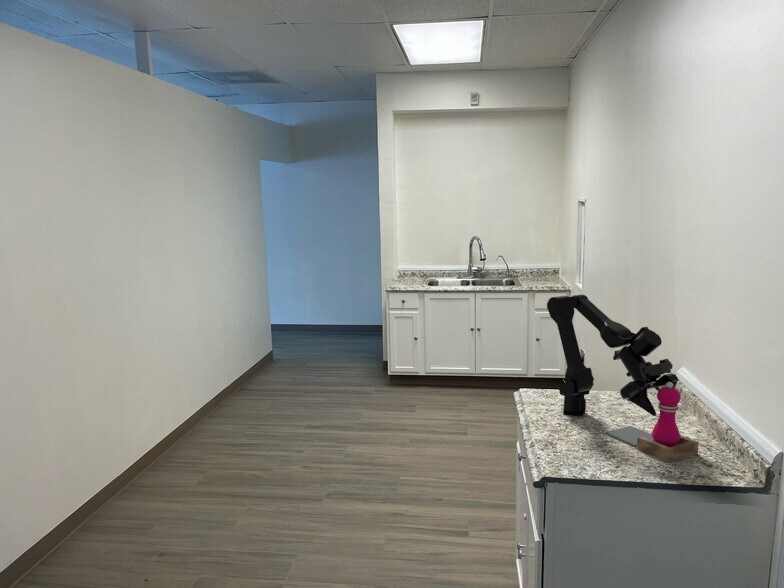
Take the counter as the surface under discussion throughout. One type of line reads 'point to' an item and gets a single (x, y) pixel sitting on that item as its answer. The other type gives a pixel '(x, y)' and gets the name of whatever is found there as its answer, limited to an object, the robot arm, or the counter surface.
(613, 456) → the counter surface
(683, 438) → the walnut cradle
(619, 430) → the rubber mat
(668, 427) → the pepper mill
